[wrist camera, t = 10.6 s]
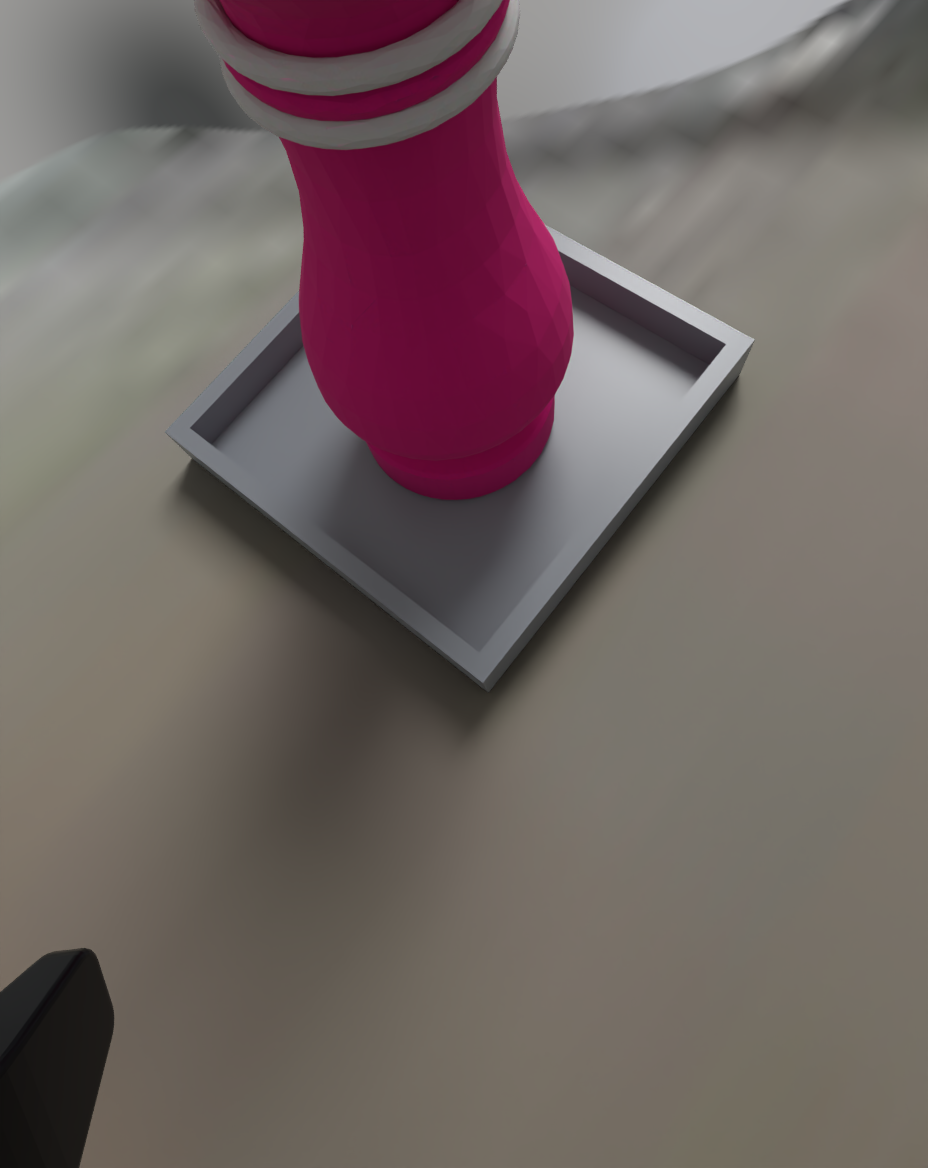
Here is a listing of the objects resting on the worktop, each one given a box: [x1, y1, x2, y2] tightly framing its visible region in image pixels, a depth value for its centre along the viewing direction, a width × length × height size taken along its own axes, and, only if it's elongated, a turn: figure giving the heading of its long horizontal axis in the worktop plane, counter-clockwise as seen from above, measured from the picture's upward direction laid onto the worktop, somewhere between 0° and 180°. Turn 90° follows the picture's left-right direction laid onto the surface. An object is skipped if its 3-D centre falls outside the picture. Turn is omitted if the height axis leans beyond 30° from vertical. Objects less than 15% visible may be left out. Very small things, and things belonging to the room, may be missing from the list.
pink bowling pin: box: [194, 0, 574, 500], centre depth 14 cm, size 7×7×20 cm
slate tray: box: [165, 224, 755, 693], centre depth 23 cm, size 13×13×2 cm
